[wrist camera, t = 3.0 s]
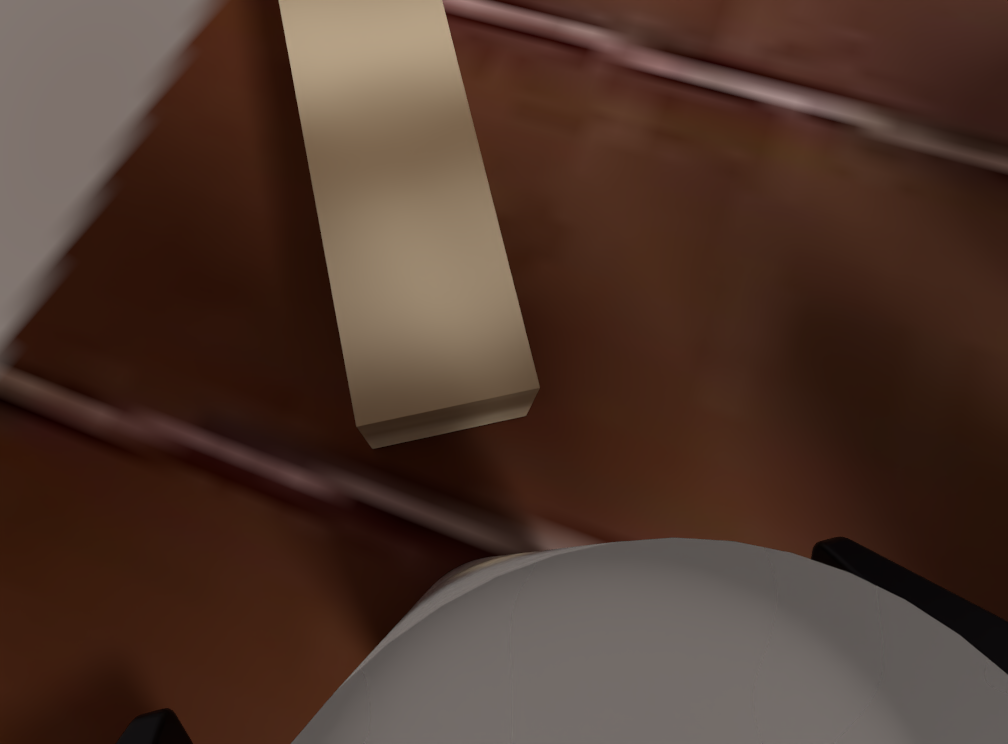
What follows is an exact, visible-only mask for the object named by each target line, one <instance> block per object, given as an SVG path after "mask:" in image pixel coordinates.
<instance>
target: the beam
mask: <svg viewBox="0 0 1008 744" xmlns="http://www.w3.org/2000/svg"><path fill="white" fill-rule="evenodd" d="M279 5H280V11H281V16H282V22H283V27H284V33H285V38H286V44H287V49H288V55H289V60H290V66H291V71H292V77H293V82H294V88H295V93H296V99H297V104H298V110H299V115H300V121H301V126H302V132H303V137H304V143H305V148H306V154H307V159H308V164H309V170H310V175H311V181H312V186H313V192H314V197H315V203H316V208H317V214H318V219H319V225H320V230H321V236H322V241H323V247H324V252H325V258H326V263H327V269H328V274H329V280H330V285H331V291H332V296H333V302H334V307H335V313H336V318H337V324H338V329H339V335H340V340H341V346H342V351H343V357H344V362H345V368H346V373H347V379H348V384H349V390H350V395H351V401H352V406H353V412H354V417H355V423H356V427H357V428H358V430H359V431H360V433H361V434H362V435H363V437H364V438H365V439H366V441H367V442H368V444H369V445H370V446H371V448H372V449H375V448H380V447H385V446H389V445H394V444H398V443H403V442H408V441H412V440H417V439H422V438H426V437H431V436H435V435H440V434H445V433H449V432H454V431H458V430H463V429H468V428H472V427H477V426H481V425H486V424H491V423H495V422H500V421H505V420H509V419H514V418H518V417H523V416H526V415H527V413H528V411H529V409H530V407H531V405H532V403H533V401H534V399H535V397H536V395H537V393H538V391H539V389H540V386H539V382H538V378H537V374H536V370H535V366H534V362H533V358H532V354H531V350H530V346H529V342H528V338H527V334H526V331H525V327H524V323H523V319H522V315H521V311H520V307H519V303H518V299H517V295H516V291H515V287H514V283H513V279H512V275H511V271H510V267H509V263H508V259H507V255H506V251H505V247H504V244H503V240H502V236H501V232H500V228H499V224H498V220H497V216H496V212H495V208H494V204H493V200H492V196H491V192H490V188H489V184H488V180H487V176H486V172H485V168H484V164H483V161H482V157H481V153H480V149H479V145H478V141H477V137H476V133H475V129H474V125H473V121H472V117H471V113H470V109H469V105H468V101H467V97H466V93H465V89H464V85H463V81H462V78H461V74H460V70H459V66H458V62H457V58H456V54H455V50H454V46H453V42H452V38H451V34H450V30H449V26H448V22H447V18H446V14H445V10H444V6H443V2H442V0H279Z"/></svg>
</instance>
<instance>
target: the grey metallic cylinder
mask: <svg viewBox="0 0 1008 744" xmlns="http://www.w3.org/2000/svg"><path fill="white" fill-rule="evenodd" d="M291 744H1008V675H1007V674H1006V673H1005V672H1004V671H1003V670H1001V669H1000V668H999V667H998V666H997V665H995V664H994V663H993V662H992V661H991V660H989V659H988V658H987V657H986V656H984V655H983V654H982V653H981V652H980V651H978V650H977V649H976V648H975V647H974V646H972V645H971V644H970V643H969V642H968V641H966V640H965V639H964V638H963V637H961V636H960V635H959V634H957V633H956V632H954V631H953V630H951V629H950V628H948V627H947V626H945V625H943V624H942V623H940V622H939V621H937V620H936V619H934V618H933V617H931V616H930V615H928V614H926V613H925V612H923V611H922V610H920V609H919V608H917V607H916V606H914V605H913V604H911V603H910V602H908V601H906V600H905V599H903V598H901V597H899V596H896V595H894V594H892V593H890V592H888V591H886V590H884V589H882V588H880V587H878V586H876V585H874V584H872V583H870V582H868V581H866V580H864V579H862V578H860V577H858V576H856V575H853V574H851V573H849V572H846V571H843V570H840V569H838V568H835V567H832V566H829V565H826V564H823V563H820V562H817V561H814V560H811V559H808V558H805V557H802V556H799V555H796V554H793V553H789V552H784V551H779V550H774V549H769V548H764V547H759V546H754V545H749V544H744V543H739V542H734V541H720V540H704V539H688V538H663V539H650V540H637V541H623V542H612V543H603V544H595V545H587V546H578V547H570V548H561V549H553V550H544V551H536V552H527V553H519V554H511V555H502V556H494V557H486V558H481V559H477V560H473V561H470V562H468V563H465V564H462V565H460V566H459V567H457V568H455V569H453V570H451V571H450V572H448V573H447V574H445V575H444V576H442V577H441V578H440V579H439V580H438V581H437V582H436V583H435V584H433V585H432V586H431V587H430V589H429V590H428V591H427V592H426V593H425V594H424V595H423V596H422V597H421V598H420V600H419V601H418V602H417V603H416V604H415V605H414V606H413V607H412V608H411V609H410V610H409V612H408V613H407V614H406V615H405V616H404V617H403V618H402V619H401V620H400V621H399V623H398V624H397V625H396V626H395V627H394V628H393V629H392V630H391V631H390V632H389V633H388V635H387V636H386V637H385V638H384V639H383V640H382V641H381V642H380V643H379V644H378V646H377V647H376V648H375V649H374V650H373V651H372V652H371V653H370V654H369V655H368V656H367V658H366V659H365V660H364V661H363V662H362V663H361V664H360V665H359V666H358V667H357V669H356V670H355V671H354V672H353V673H352V674H351V675H350V676H349V677H348V678H347V679H346V681H345V682H344V683H343V684H342V685H341V686H340V687H339V688H338V689H337V690H336V692H335V693H334V694H333V695H332V696H331V697H330V699H329V700H328V701H327V702H326V703H325V704H324V706H323V707H322V708H321V709H320V710H319V711H318V713H317V714H316V715H315V716H314V717H313V718H312V720H311V721H310V722H309V723H308V724H307V725H306V727H305V728H304V729H303V730H302V731H301V732H300V734H299V735H298V736H297V737H296V738H295V739H294V741H293V742H292V743H291Z"/></svg>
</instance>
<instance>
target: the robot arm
mask: <svg viewBox="0 0 1008 744" xmlns="http://www.w3.org/2000/svg"><path fill="white" fill-rule="evenodd" d="M811 560H814V561H817V562H820V563H823V564H826V565H829V566H832V567H835V568H838V569H840V570H843V571H846V572H849V573H851V574H853V575H856V576H858V577H860V578H862V579H864V580H866V581H868V582H870V583H872V584H874V585H876V586H878V587H880V588H882V589H884V590H886V591H888V592H890V593H892V594H894V595H896V596H899V597H901V598H903V599H905V600H906V601H908V602H910V603H911V604H913V605H914V606H916V607H917V608H919V609H920V610H922V611H923V612H925V613H926V614H928V615H930V616H931V617H933V618H934V619H936V620H937V621H939V622H940V623H942V624H943V625H945V626H947V627H948V628H950V629H951V630H953V631H954V632H956V633H957V634H959V635H960V636H961V637H963V638H964V639H965V640H966V641H968V642H969V643H970V644H971V645H972V646H974V647H975V648H976V649H977V650H978V651H980V652H981V653H982V654H983V655H984V656H986V657H987V658H988V659H989V660H991V661H992V662H993V663H994V664H995V665H997V666H998V667H999V668H1000V669H1001V670H1003V671H1004V672H1005V673H1006V674H1007V675H1008V621H1006V620H1004V619H1002V618H1000V617H998V616H996V615H994V614H992V613H990V612H989V611H987V610H985V609H983V608H981V607H979V606H977V605H975V604H973V603H971V602H969V601H967V600H966V599H964V598H962V597H960V596H958V595H956V594H954V593H952V592H950V591H948V590H946V589H944V588H942V587H941V586H939V585H937V584H935V583H933V582H931V581H929V580H927V579H925V578H923V577H921V576H919V575H917V574H916V573H914V572H912V571H910V570H908V569H906V568H904V567H902V566H900V565H898V564H896V563H894V562H892V561H891V560H889V559H887V558H885V557H883V556H881V555H879V554H877V553H875V552H873V551H871V550H869V549H867V548H866V547H864V546H862V545H860V544H858V543H856V542H854V541H852V540H850V539H848V538H845V537H835V538H831V539H827V540H823V541H819V542H817V543H816V544H815V545H814V547H813V551H812V557H811ZM116 744H193V743H192V741H191V739H190V737H189V736H188V734H187V732H186V731H185V729H184V727H183V726H182V724H181V722H180V721H179V719H178V717H177V716H176V714H175V713H174V711H173V710H171V709H169V708H164V709H160V710H156V711H153V712H149V713H145V714H142V715H139V716H137V717H136V718H135V719H134V720H133V721H132V722H131V723H130V724H129V726H128V727H127V728H126V730H125V731H124V733H123V734H122V735H121V737H120V738H119V740H118V741H117V742H116Z"/></svg>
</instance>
